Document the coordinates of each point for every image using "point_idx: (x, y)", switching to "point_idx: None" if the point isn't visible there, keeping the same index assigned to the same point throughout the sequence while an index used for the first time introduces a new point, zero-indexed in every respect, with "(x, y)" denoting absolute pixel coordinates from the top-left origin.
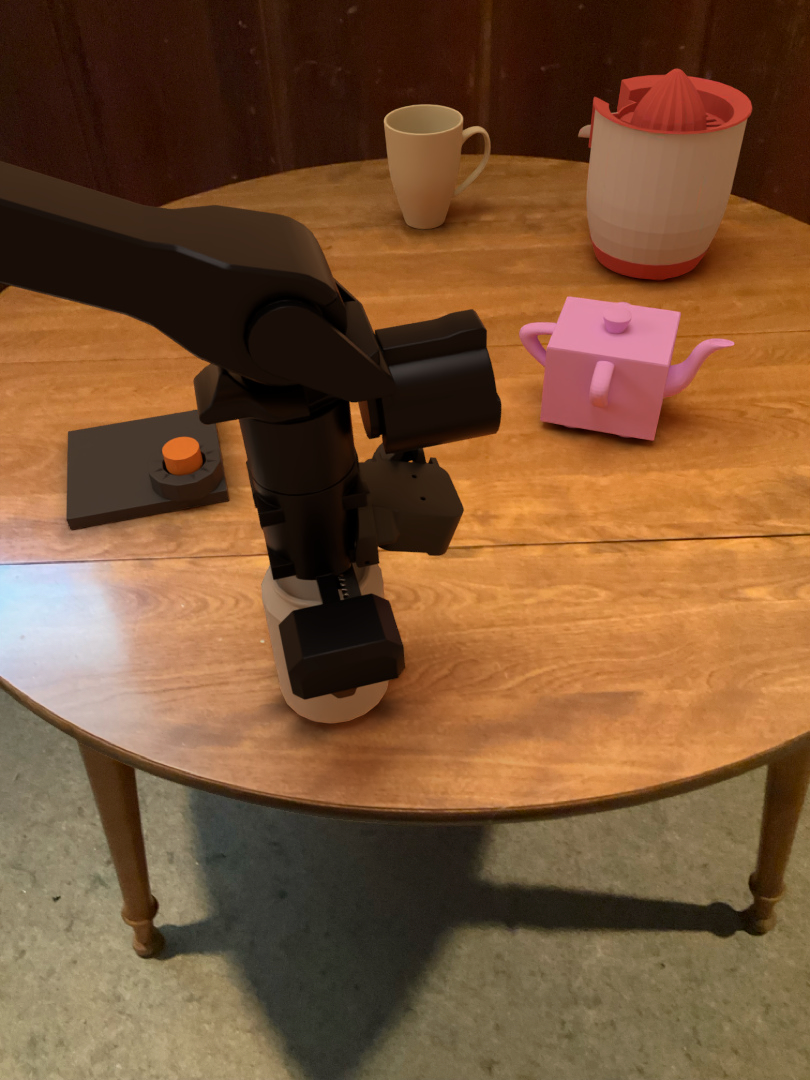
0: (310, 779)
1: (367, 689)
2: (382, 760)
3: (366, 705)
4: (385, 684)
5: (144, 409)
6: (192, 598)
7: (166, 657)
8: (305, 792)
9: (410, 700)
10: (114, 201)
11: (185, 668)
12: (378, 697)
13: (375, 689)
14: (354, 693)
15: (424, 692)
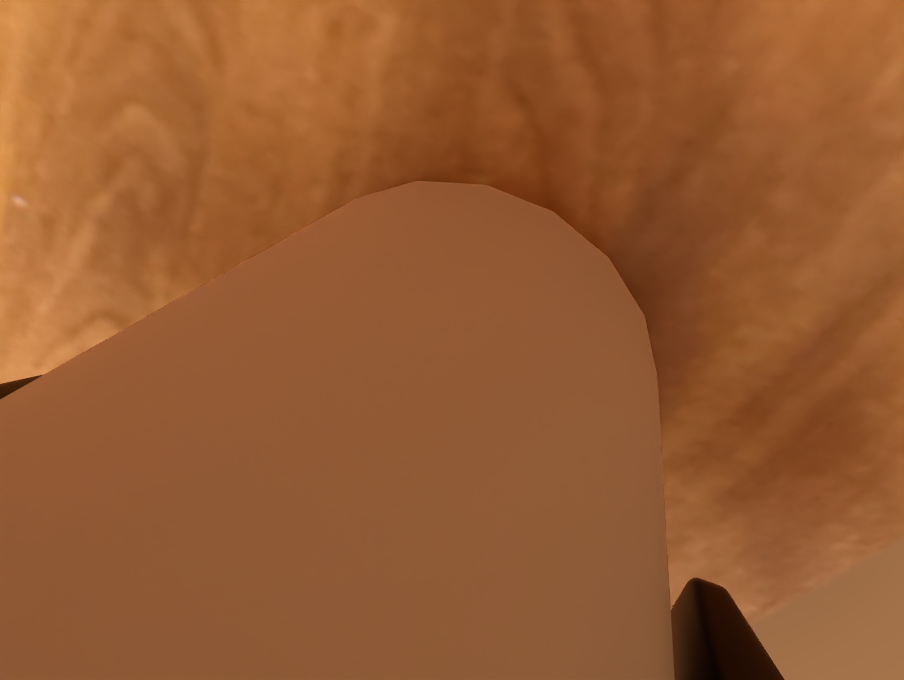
0: (737, 574)
1: (657, 431)
2: (841, 388)
3: (656, 389)
4: (607, 275)
5: None
6: None
7: None
8: (767, 603)
9: (674, 165)
10: None
11: None
12: (641, 323)
13: (646, 366)
14: (735, 606)
15: (675, 89)
